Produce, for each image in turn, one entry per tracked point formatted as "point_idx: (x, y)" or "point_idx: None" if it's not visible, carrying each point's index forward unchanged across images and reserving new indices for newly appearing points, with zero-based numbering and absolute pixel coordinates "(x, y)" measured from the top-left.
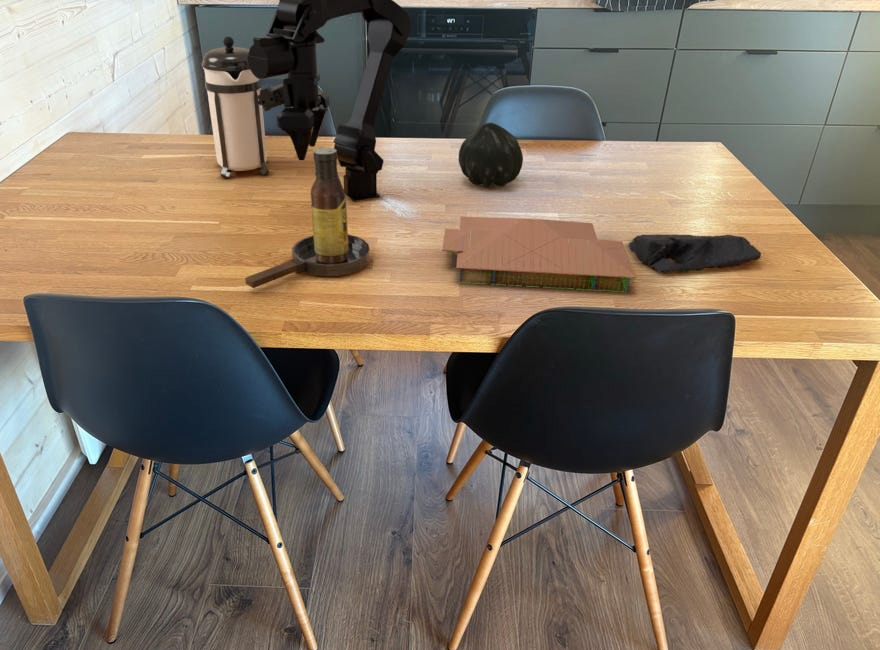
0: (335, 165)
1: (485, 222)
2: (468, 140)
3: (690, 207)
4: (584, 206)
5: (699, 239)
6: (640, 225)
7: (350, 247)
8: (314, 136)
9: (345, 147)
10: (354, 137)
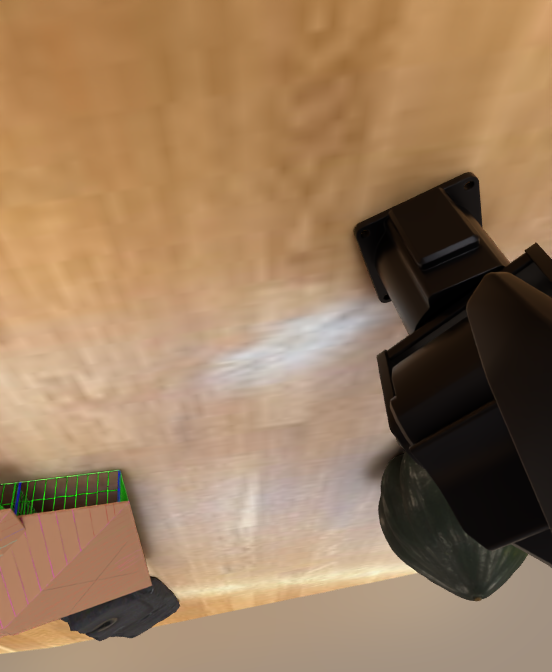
0: None
1: (40, 563)
2: None
3: (280, 578)
4: (286, 536)
5: (97, 639)
6: (214, 570)
7: None
8: (513, 391)
9: (483, 395)
10: (474, 488)
